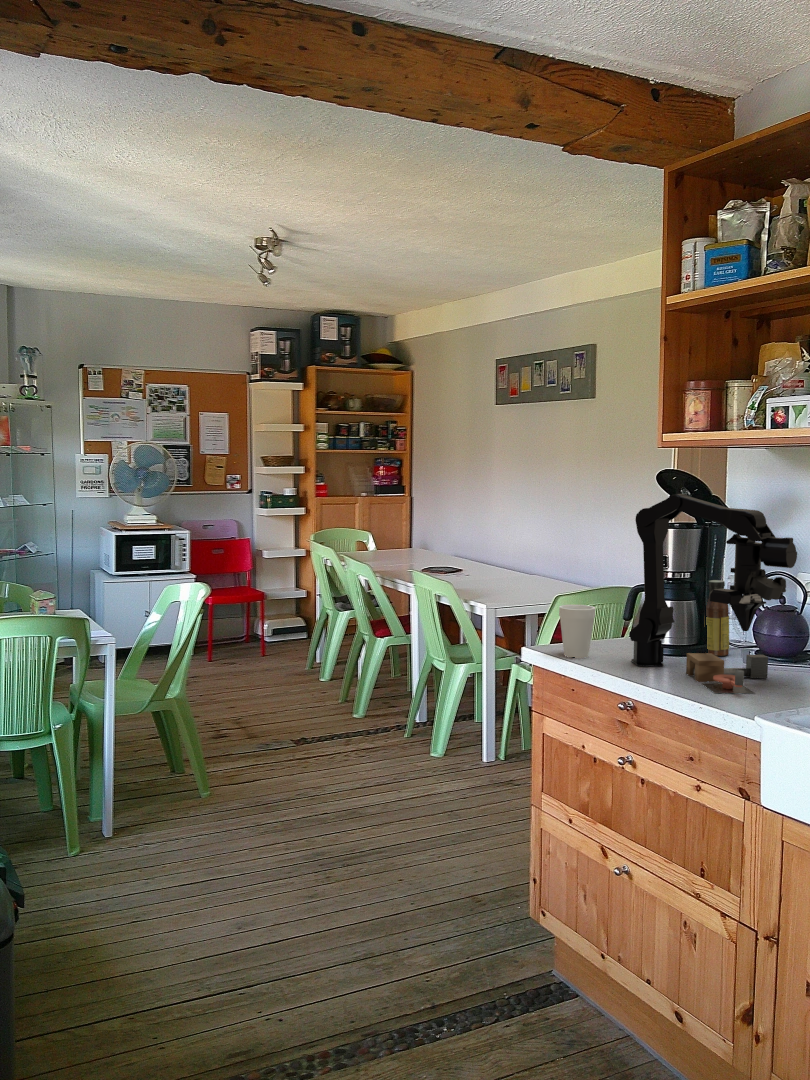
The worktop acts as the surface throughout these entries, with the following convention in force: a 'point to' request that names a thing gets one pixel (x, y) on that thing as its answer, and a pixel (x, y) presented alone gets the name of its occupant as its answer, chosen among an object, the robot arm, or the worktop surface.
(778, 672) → the worktop surface
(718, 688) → the brown square plate
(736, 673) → the handwheel
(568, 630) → the foam cup
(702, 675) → the eye block
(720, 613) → the sauce bottle
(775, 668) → the worktop surface
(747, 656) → the bolt
